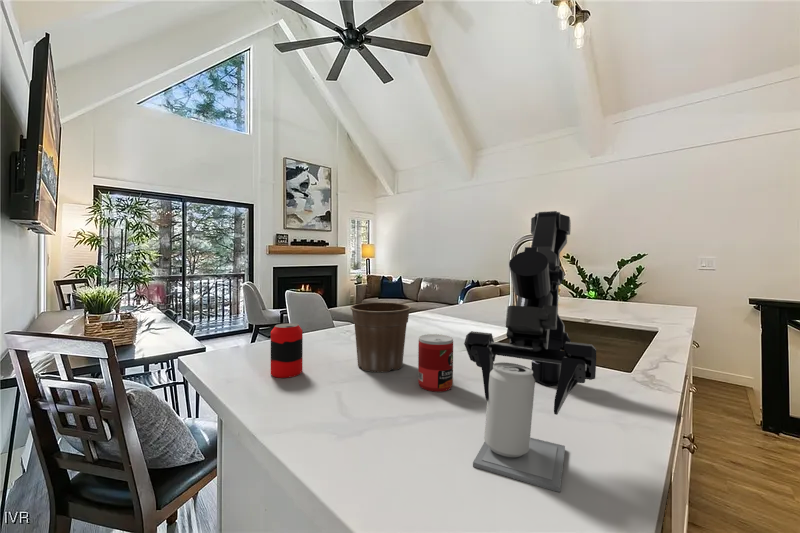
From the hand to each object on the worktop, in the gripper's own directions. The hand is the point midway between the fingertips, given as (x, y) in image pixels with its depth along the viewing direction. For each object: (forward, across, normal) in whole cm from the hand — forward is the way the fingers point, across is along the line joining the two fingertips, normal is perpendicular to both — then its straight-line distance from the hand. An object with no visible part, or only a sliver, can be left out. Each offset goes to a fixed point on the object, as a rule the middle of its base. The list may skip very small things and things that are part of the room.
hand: (519, 406), depth 49 cm
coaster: (+5, 0, +7) cm, 8 cm away
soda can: (-2, -58, +14) cm, 59 cm away
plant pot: (-14, -41, +26) cm, 50 cm away
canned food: (-10, -22, +21) cm, 32 cm away
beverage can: (+4, -2, +6) cm, 8 cm away
